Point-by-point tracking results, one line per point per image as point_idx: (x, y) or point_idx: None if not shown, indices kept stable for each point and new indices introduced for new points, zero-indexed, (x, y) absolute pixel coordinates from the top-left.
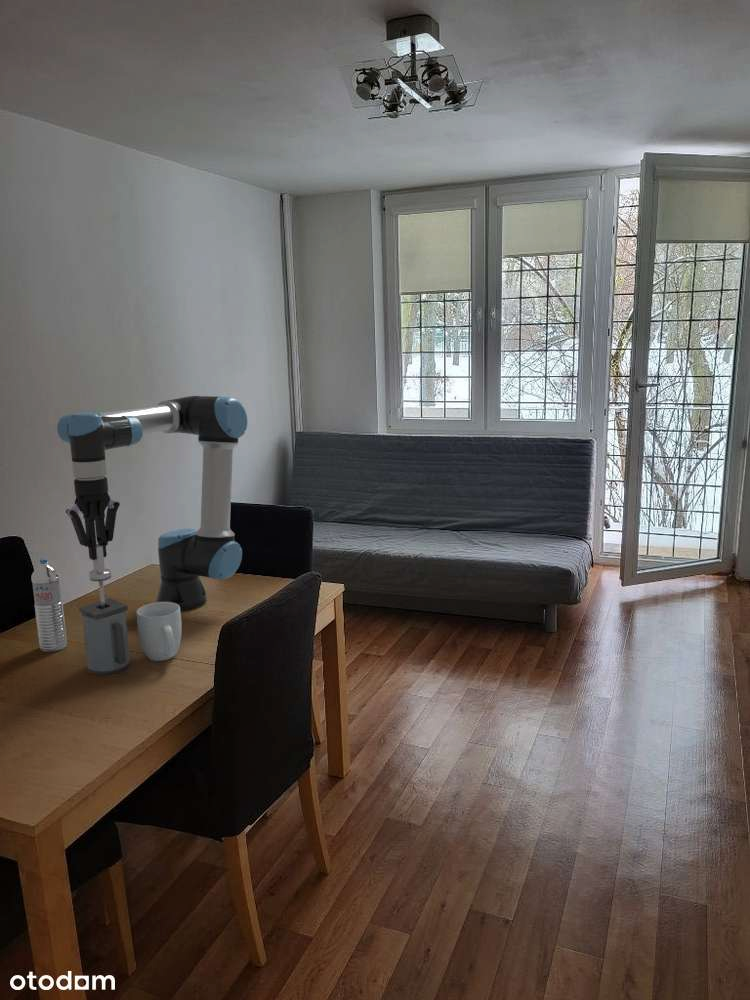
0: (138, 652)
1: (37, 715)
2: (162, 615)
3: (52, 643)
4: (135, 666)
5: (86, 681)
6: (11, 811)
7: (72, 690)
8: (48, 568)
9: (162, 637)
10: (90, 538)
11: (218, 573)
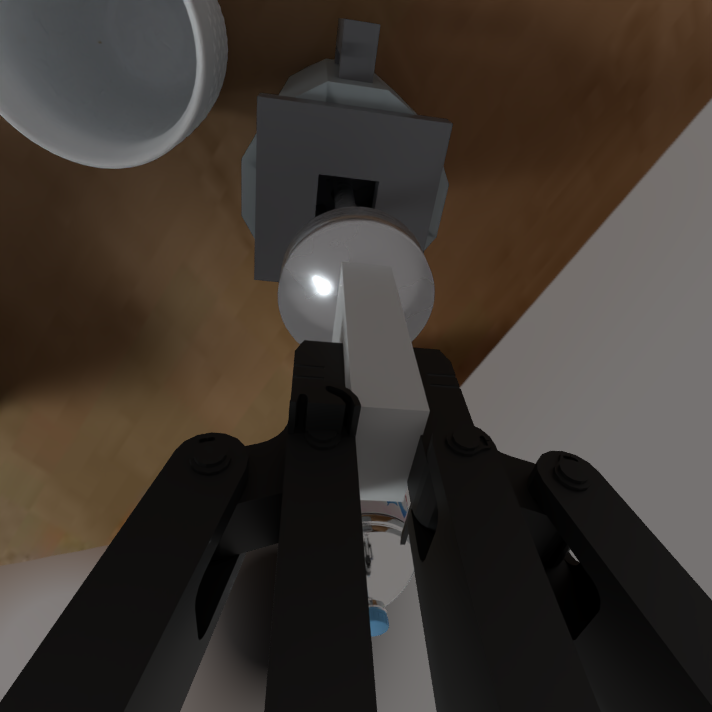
0: (209, 145)
1: (690, 15)
2: (55, 108)
3: None
4: (281, 46)
5: (450, 100)
6: None
7: (516, 81)
8: (370, 577)
9: None
10: (522, 541)
11: None
